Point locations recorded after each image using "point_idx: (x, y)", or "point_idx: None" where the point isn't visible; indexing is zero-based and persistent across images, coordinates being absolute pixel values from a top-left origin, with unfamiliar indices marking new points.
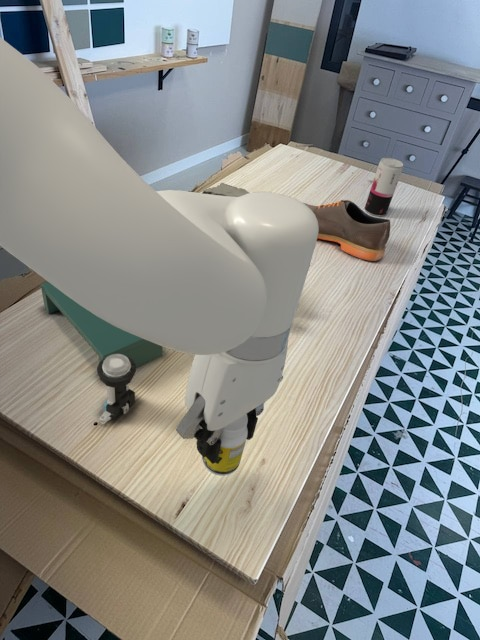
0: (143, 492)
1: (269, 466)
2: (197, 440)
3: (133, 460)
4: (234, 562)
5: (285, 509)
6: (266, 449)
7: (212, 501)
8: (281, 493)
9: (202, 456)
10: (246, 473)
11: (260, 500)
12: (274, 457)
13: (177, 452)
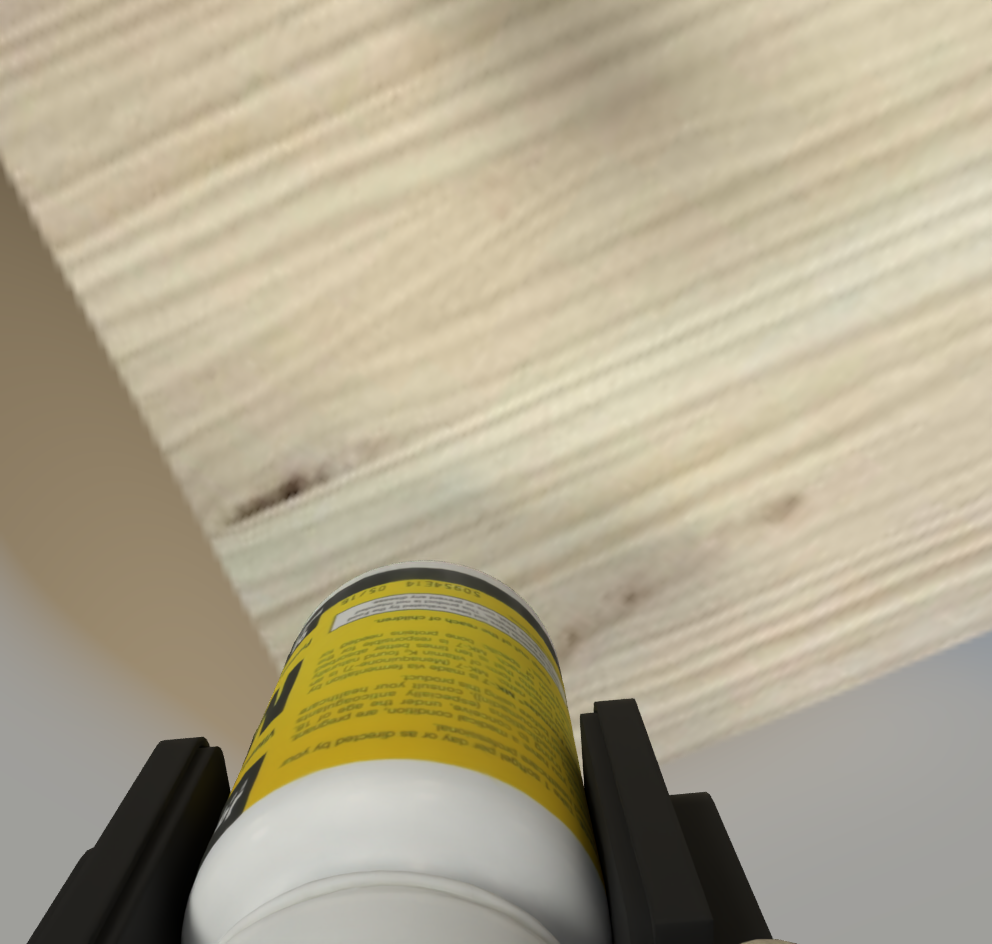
0: (142, 324)
1: (789, 548)
2: (138, 783)
3: (166, 112)
4: None
5: (690, 750)
6: (851, 460)
7: (423, 547)
8: (732, 686)
9: (296, 640)
10: (661, 517)
11: (623, 661)
12: (850, 521)
13: (413, 204)
